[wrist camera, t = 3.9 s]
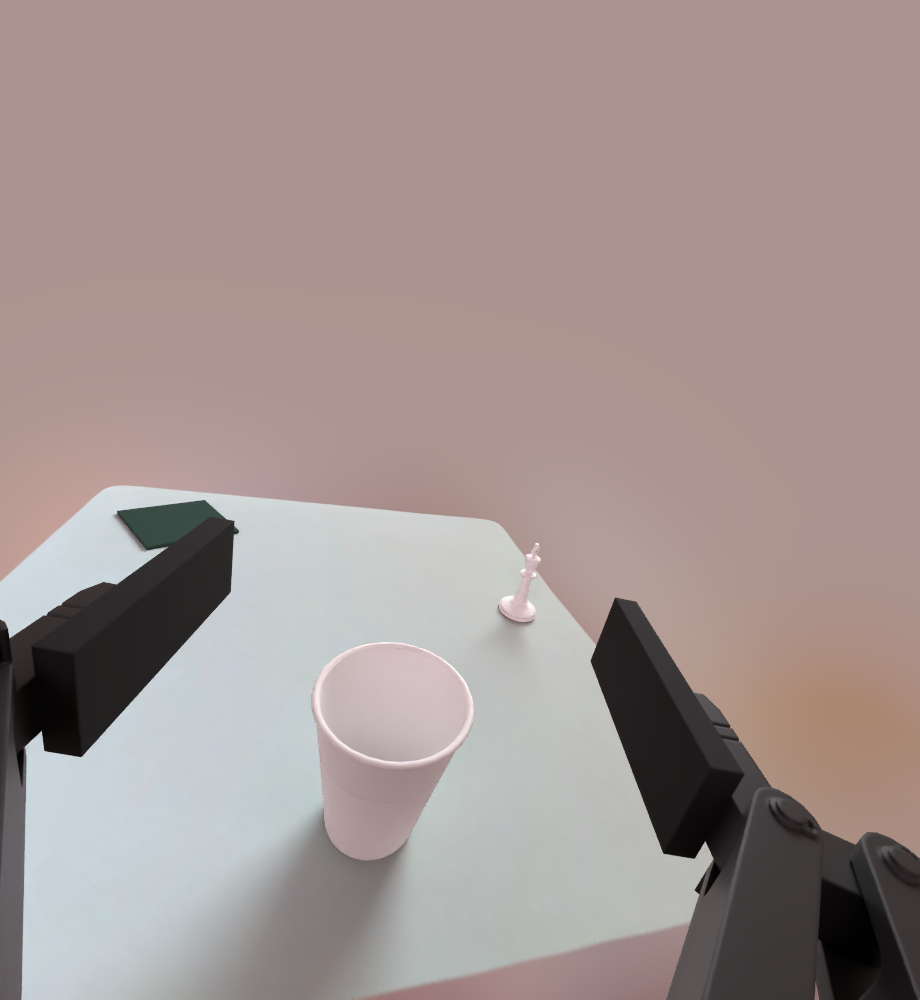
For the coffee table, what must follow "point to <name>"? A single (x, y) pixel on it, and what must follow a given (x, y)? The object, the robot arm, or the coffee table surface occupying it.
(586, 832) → the coffee table surface
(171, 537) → the mat
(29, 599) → the coffee table surface
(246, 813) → the coffee table surface
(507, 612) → the chess piece
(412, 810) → the cup
